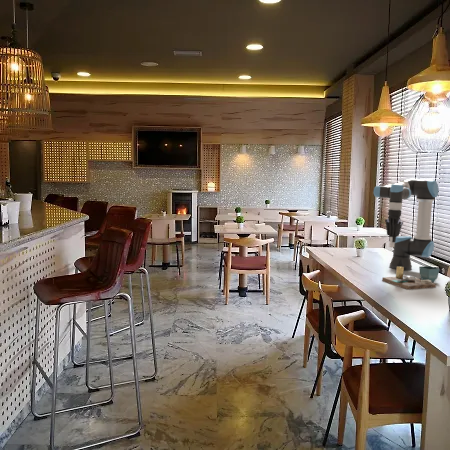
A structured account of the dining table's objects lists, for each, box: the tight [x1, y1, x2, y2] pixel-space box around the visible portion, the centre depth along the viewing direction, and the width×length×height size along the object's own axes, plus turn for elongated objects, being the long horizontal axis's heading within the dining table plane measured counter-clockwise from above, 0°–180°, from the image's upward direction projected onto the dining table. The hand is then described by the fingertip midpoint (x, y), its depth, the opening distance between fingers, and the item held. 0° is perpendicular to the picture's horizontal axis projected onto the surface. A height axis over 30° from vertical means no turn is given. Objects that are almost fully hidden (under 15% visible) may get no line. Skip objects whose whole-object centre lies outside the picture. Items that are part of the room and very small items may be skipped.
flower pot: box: [418, 265, 440, 283], centre depth 305 cm, size 9×9×9 cm
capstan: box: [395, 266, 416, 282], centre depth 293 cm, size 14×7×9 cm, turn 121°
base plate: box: [381, 276, 437, 290], centre depth 295 cm, size 22×22×4 cm
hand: (391, 247), depth 295 cm, fingers closed
